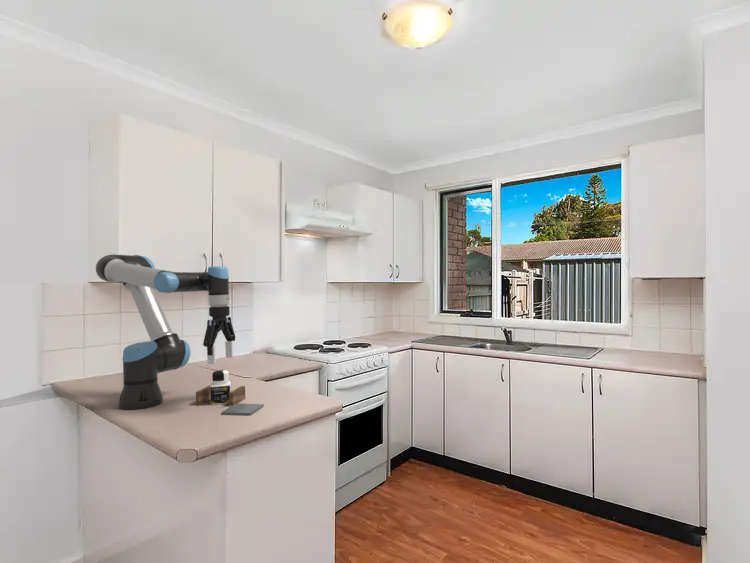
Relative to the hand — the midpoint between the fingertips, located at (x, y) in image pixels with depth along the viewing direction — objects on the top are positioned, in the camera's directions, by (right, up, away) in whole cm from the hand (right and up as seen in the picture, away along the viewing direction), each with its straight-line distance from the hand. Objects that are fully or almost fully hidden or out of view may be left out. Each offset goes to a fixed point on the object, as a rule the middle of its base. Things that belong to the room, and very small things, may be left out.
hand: (220, 360), depth 171 cm
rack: (0, -16, 0) cm, 16 cm away
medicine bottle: (0, -16, 0) cm, 16 cm away
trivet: (+12, -16, -12) cm, 23 cm away
